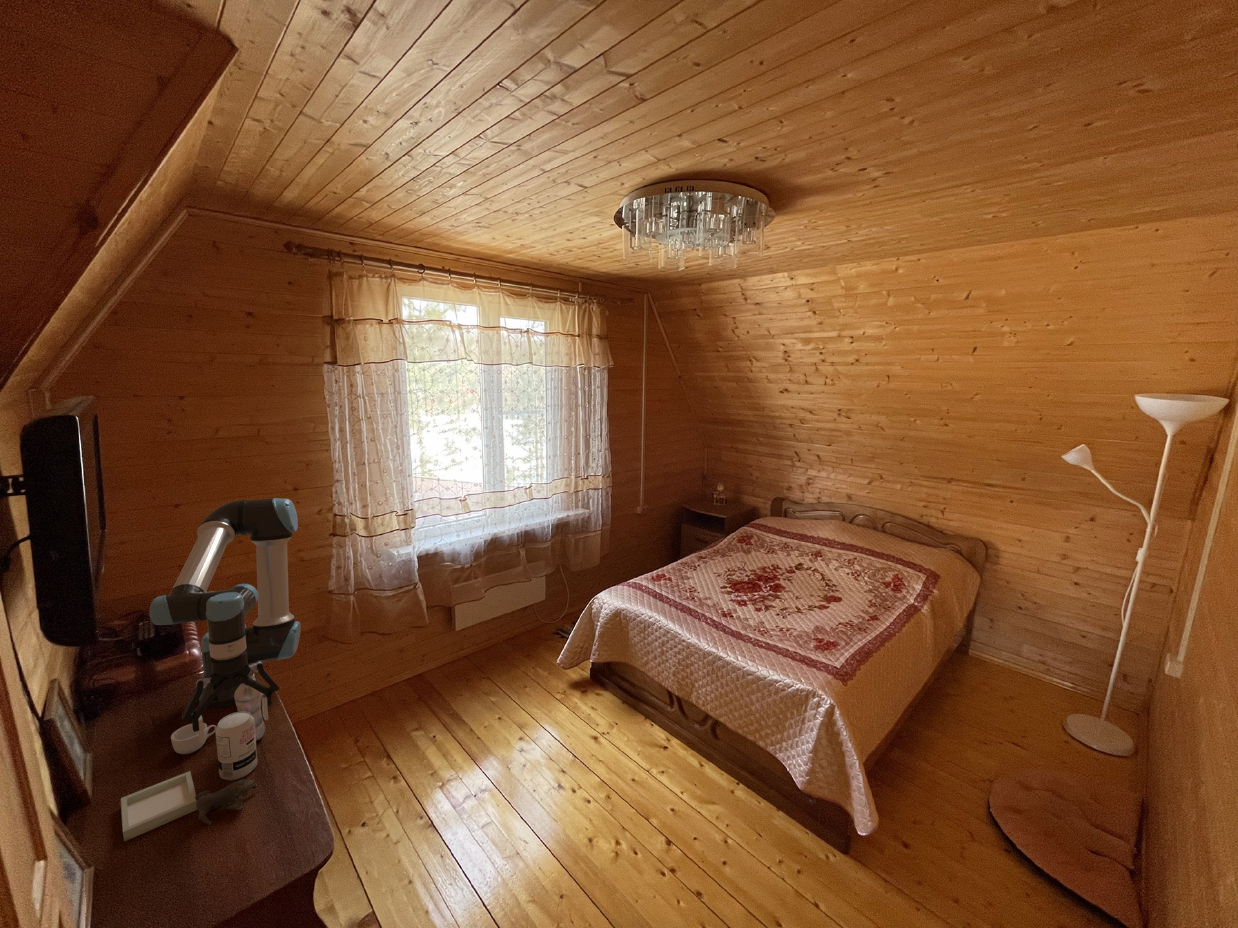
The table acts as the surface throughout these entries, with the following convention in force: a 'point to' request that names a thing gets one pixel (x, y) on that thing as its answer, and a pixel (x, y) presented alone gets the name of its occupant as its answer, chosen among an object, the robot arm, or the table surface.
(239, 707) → the plastic bottle
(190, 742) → the teacup
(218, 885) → the table surface
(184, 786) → the can tray
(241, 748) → the supplement can
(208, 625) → the robot arm
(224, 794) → the dog figurine
